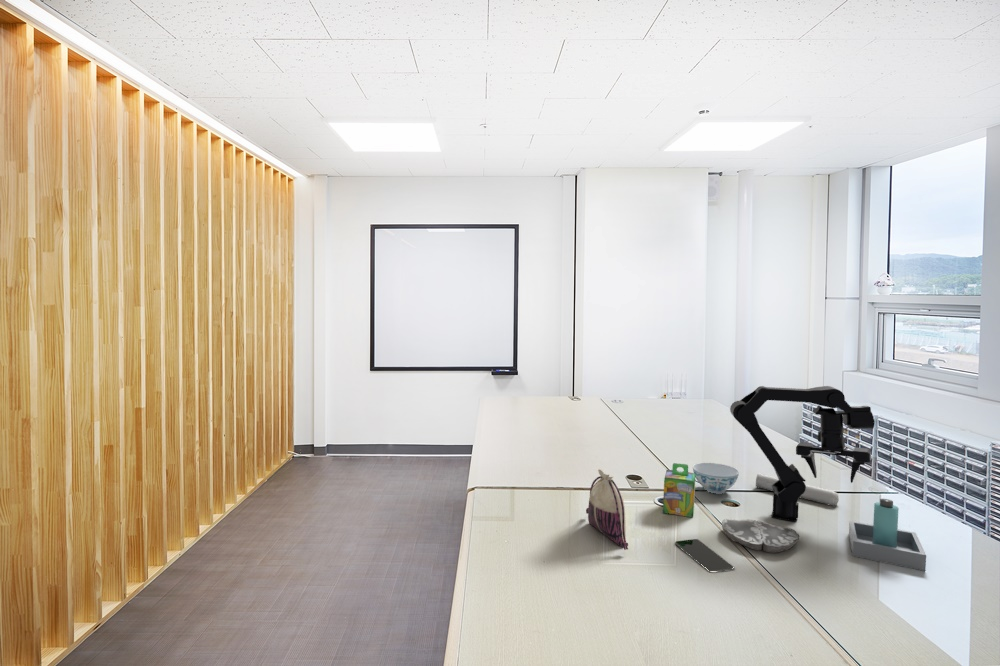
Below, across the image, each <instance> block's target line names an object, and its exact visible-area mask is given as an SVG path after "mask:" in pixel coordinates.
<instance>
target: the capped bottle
mask: <svg viewBox="0 0 1000 666" xmlns="http://www.w3.org/2000/svg"><path fill="white" fill-rule="evenodd" d="M899 510H900V509H899V507H898V506H896V505H895V504H894V501H893V500H891V499H890V498H889V499H888V498H880V499H879V502H875V503H874V504H873V523H872V525H873V542H872V543H873V544H879V545H884V546H889V547H894V548H897V530H898V528H899V527H898V526H899Z"/></svg>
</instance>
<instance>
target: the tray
mask: <svg viewBox="0 0 1000 666" xmlns="http://www.w3.org/2000/svg"><path fill="white" fill-rule="evenodd" d="M848 522H849V525H848V538H849V544H850V548H851V549H850V550H851V555H852V557H856V558H862V559H865V558H866V560H870V561H875V562H880V561H881V563H884V562H885V564H889V563H890V564H891V565H895V566H899V565H900V566H899V567H904V566H905V568H908V567H909V568H908V569H913V568H914V569H915V570H918V569H920V570H919V571H923V570H925V571H926V569H927V568H926V565H927V554H926V551H925V550H924V548H923V545H922V543H921V541H920V539H919V537H918V535H917V533H916V532H915V531H910V530H903V529H898V530H897V548H894V547H889V546H884V545H879V544H873V543H872V542H873V524H869V523H865V522H860V521H853V520H849V521H848Z"/></svg>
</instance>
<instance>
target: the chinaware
mask: <svg viewBox="0 0 1000 666" xmlns="http://www.w3.org/2000/svg"><path fill="white" fill-rule="evenodd" d="M692 471H693V472H692V473H695V475H696V477H695V480H697V482H698V483H699V484H700V485H701V486H702V487H703V488H704V491H705V490H707V491H709V492H711V493H710V494H713V493H716V494H715V495H723V494H725V493H726V491H727V490H729V489H730V488H732V487H733V486H734V485H735V484H736V482H737V480H738V478H739V473H740V471H739V470H738V469H737V468H736V467H734V466H730V465H727V464H722V463H715V462H699V463H695V464H693V465H692ZM707 491H706V492H707ZM709 492H708V493H709ZM722 493H723V494H722Z"/></svg>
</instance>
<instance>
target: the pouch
mask: <svg viewBox="0 0 1000 666" xmlns="http://www.w3.org/2000/svg"><path fill="white" fill-rule="evenodd" d="M597 471H598V474H599V476H596V478H595V479H594V480H593V481H592V483H591V486H590V489H589V498H588V499H589V500H588V505H587V506H588V507H587V508H586V509H585V514H587V520H588V521H587V522H588V523H589V524H590V525H591V527H594V528H595V529H597V531H599V532H600V533H601V534H603V535H604V536H606V537H607V538H608V539H610V540H611V541H613V542H614V543H615V544H616V545H618V546H620V547H622V548H623V550H629V548H628V546H629V543H628V542H627V540H626V539H627V538H626V537H627V534H626V532H627V531H626V530H627V529H626V528H627V527H626V510H625V509H626V508H625V506H626V505H625V501H624V498H623V495H622V492H620V489H619V488H618V486H617V484H616V482H615V481H614V480H613V479H614V476H610V474H606V473H604V472H603V470H602V469H600V468H599V469H598V470H597ZM596 481H597V482H596Z"/></svg>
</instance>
